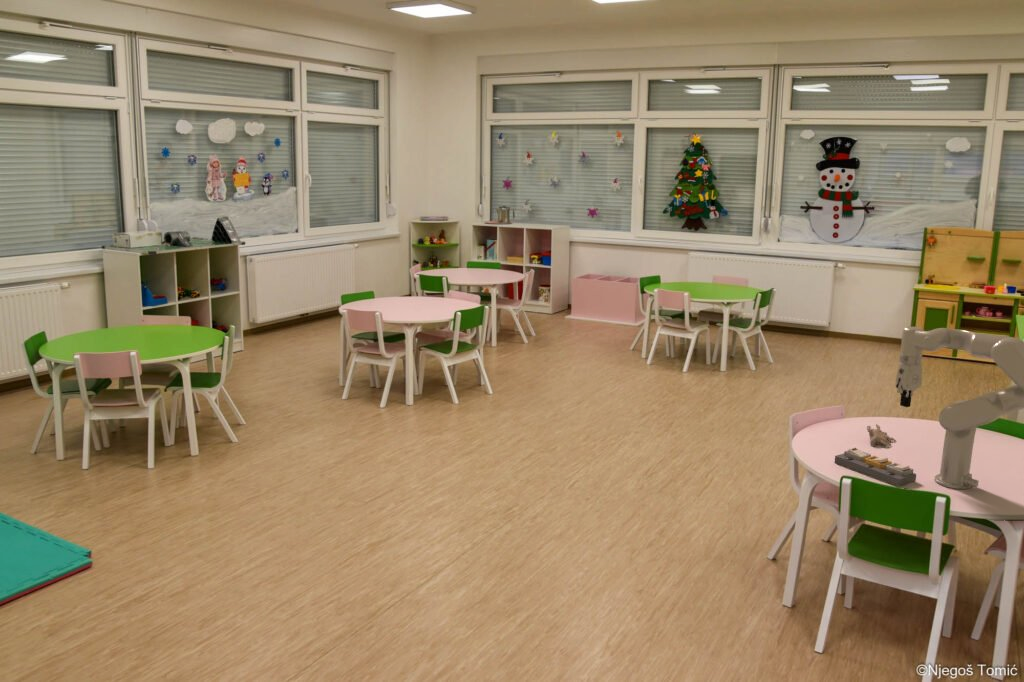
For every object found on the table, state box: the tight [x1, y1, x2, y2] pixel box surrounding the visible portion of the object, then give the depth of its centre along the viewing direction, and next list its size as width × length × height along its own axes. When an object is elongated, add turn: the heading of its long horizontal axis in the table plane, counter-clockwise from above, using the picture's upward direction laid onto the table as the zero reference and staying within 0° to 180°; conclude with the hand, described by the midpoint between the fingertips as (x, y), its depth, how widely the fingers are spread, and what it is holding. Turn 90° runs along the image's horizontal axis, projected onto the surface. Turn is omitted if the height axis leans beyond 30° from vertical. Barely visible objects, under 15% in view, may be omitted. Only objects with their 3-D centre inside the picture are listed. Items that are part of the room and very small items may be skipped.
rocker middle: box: [869, 457, 889, 462], centre depth 321 cm, size 6×4×1 cm
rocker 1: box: [848, 447, 867, 456], centre depth 329 cm, size 6×4×1 cm
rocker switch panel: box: [834, 449, 917, 488], centre depth 321 cm, size 28×10×4 cm, turn 32°
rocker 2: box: [890, 464, 911, 471], centre depth 314 cm, size 6×4×1 cm
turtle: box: [866, 423, 897, 448], centre depth 354 cm, size 16×10×10 cm, turn 158°
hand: (905, 406), depth 320 cm, fingers closed
